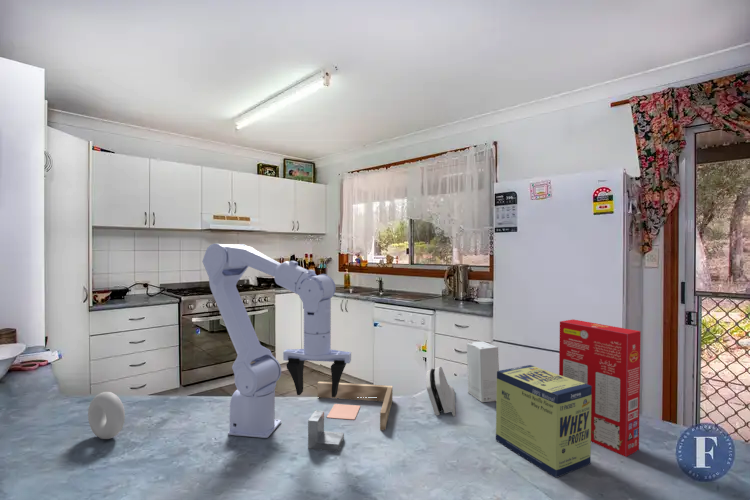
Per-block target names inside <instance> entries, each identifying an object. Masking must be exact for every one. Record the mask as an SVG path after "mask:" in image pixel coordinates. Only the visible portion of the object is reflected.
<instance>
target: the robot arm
mask: <svg viewBox="0 0 750 500" xmlns="http://www.w3.org/2000/svg"><path fill="white" fill-rule="evenodd" d="M202 264H203V267H204V270H205V271H206V273H207V276H208V282H209V289H210V291H211V293H212V294H211V295H212V296H213V298H214V301H215V303H216V305H217V309H218V311H219V313H220V315H221V318H222V320H223V322H224V325H225V328H226V331H227V333H228V335H229V337H230V340H231V342H232V345H233V347H234V350H235V352H236V354H237V356H236V358H235V360H234V362H233V363H232V366H231V368H232V371H233V376H234V384H235V387H236V390H235V391H234V392H233V394H232V395H231V398H230V403H229V430H228V432H227V435H228V436H238V437H250V438H251V437H252V438H262V439H267V438H269V437H270V436H271V435H272V433H273V432H275V430H276V429H277V428H278V427H279V425H280V424H281V423H282V420H281V419H275V418H276V417H275V416H276V415H275V414H276V413H275V412H276V410H275V409H276V408H275V407H276V406H275V404H276V400H275V399H276V395H275V394H276V392H275V390H276V389H275V388H277V382H278V381H279V379H281V375H282V367H281V363H280V361H279V360H278V359H277V358H276V357H275V356H274V355H273V353H272V351H271V349H269V348H268V347H265V346H263V345H262V344H261V342H260V340H259V338H258V335H257V333H256V330H255V329H254V326H253V323H252V321H251V319H250V317H249V314H248V311H247V309H246V306H245V305H244V302H243V299H242V297H241V295H240V292H239V290H238V288H237V284H238V281H240V280H241V278H242V276H244V274H245V272H246V271H247V270H248V268H249V267H250V268H252V269H254V270H257V271H259V272H262V273H264V274H266V275H269V276H271V277H273V278H274V282H275V284H276V285H277V286H280V287H282V288H284V289H285V290H288V291H290V292H291V293H295V294H296V295H298V296H299V298H300V300H301V302H302V310H303V348H297V349H296V348H295V349H294V348H291V349H290V348H288V349H285V350H283V353H282V354H283V355H282V357H283V358H282V359H283V361H287V363H286V365H285V366H286V369H287V371H288V372H289V375H290V376H291V378H292V381H293V383H294V386H295V387H294V388H295V392H296V395H297V396H301V395H302V393H303V392H304V368H305V361H311V362H314V361H315V362H331V363H332V364H331V365H330V372H331V382H332V397H336V395H337V391H338V385H339V383H340V380H341V379H342V375H343V372H344V369H345V368H346V365H347V364H351V362H352V352H351V351H345V350H336V349H331V345H332V344H331V338H332V337H331V334H332V333H331V332H332V329H331V327H332V326H331V325H332V321H331V320H332V317H331V316H332V311H331V309H332V308H331V306H332V304H331V303H332V301H331V300H332V299H331V298H333V297H334V295H335V294H336V287H337V286H336V283H335V281H334V279H332V277H331V276H329V275H328V274H326V273H321V274H318V275H317V274H316V271H315V270H313V269H307V268H304V267H302V266H300V265H299V262H298V261H296V260H290V261H288V260H286V261H283V262H282V263H281V262H279V261H277V260H276V259H274V258H272V257H269V256H268V255H266V254H265V253H262V252H261V251H258V250H257V249H255V248H254V247H253V246H248V245H246V244H244V243H239V244H235V243H233V244H224V243H223V244H222V243H212V244H210V245H209V246H208V247H207V248H206V250H205V253H204V256H203V258H202Z"/></svg>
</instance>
